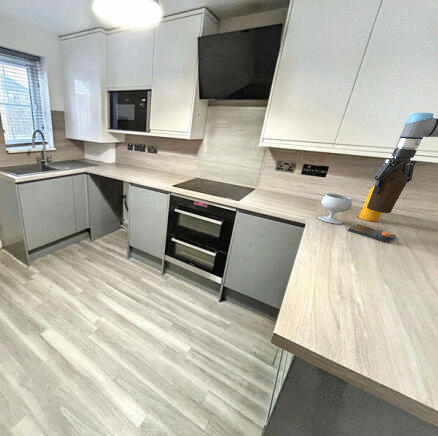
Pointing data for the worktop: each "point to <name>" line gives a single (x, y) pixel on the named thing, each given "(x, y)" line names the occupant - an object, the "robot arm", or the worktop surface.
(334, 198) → the chalice
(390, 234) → the tare button
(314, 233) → the worktop surface
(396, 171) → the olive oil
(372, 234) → the scale
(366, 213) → the beer bottle
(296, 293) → the worktop surface
